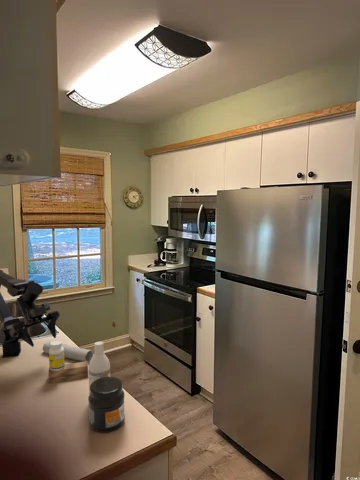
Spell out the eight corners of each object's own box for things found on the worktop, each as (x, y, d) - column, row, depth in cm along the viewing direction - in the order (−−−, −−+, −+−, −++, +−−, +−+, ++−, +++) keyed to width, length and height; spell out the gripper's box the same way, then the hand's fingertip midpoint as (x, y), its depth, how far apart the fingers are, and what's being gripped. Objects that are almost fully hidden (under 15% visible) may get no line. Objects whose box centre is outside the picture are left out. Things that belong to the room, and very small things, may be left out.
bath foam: (109, 406, 107) (107, 347, 105) (87, 407, 107) (85, 347, 105) (112, 394, 114) (111, 338, 112) (92, 395, 114) (90, 339, 112)
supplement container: (131, 425, 98) (130, 386, 97) (97, 439, 92) (95, 398, 91) (116, 407, 107) (115, 372, 106) (84, 419, 101) (82, 382, 100)
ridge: (48, 383, 121) (48, 372, 121) (49, 375, 127) (49, 365, 127) (88, 377, 126) (88, 367, 125) (87, 369, 131) (87, 360, 131)
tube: (38, 346, 145) (83, 356, 134) (47, 338, 149) (91, 347, 139) (42, 355, 147) (86, 366, 136) (50, 347, 151) (94, 357, 141)
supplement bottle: (48, 366, 126) (47, 341, 125) (62, 363, 128) (61, 338, 127) (51, 372, 121) (49, 347, 120) (66, 368, 124) (65, 343, 123)
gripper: (10, 304, 122) (27, 341, 117) (56, 291, 137) (73, 324, 132) (2, 318, 129) (18, 354, 124) (47, 305, 143) (63, 336, 138)
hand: (44, 341), depth 129 cm, fingers open, 9 cm apart
